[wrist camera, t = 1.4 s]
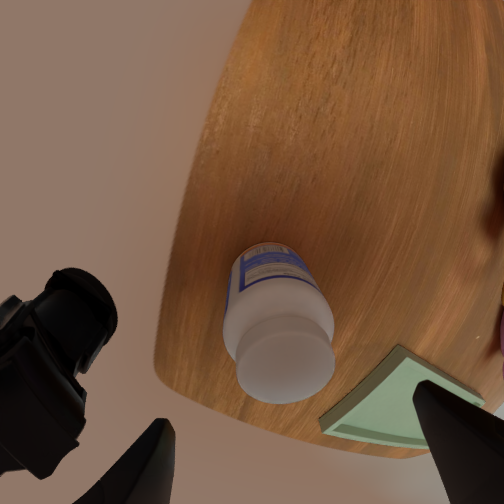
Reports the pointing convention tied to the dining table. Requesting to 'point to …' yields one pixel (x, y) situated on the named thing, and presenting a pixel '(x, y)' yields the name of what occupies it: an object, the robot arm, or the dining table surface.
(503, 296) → the plumb bob
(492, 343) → the dining table surface
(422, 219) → the dining table surface
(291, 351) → the pill bottle
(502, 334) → the teapot
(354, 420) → the tray
